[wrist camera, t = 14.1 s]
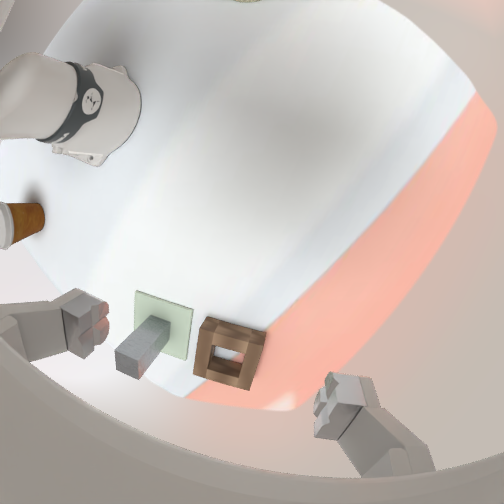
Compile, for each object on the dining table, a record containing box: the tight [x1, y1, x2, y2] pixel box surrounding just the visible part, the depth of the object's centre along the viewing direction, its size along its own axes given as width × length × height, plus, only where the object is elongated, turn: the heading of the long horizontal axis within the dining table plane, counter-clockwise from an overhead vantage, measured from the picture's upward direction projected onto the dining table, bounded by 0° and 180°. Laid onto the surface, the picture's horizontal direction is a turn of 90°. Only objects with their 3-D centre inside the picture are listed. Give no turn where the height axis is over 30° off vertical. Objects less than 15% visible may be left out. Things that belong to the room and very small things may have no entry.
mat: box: [134, 291, 193, 361], centre depth 45 cm, size 11×11×1 cm
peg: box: [115, 315, 171, 380], centre depth 39 cm, size 4×4×12 cm
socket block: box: [193, 317, 266, 391], centre depth 43 cm, size 10×10×4 cm
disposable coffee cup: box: [0, 202, 45, 250], centre depth 39 cm, size 10×10×12 cm
